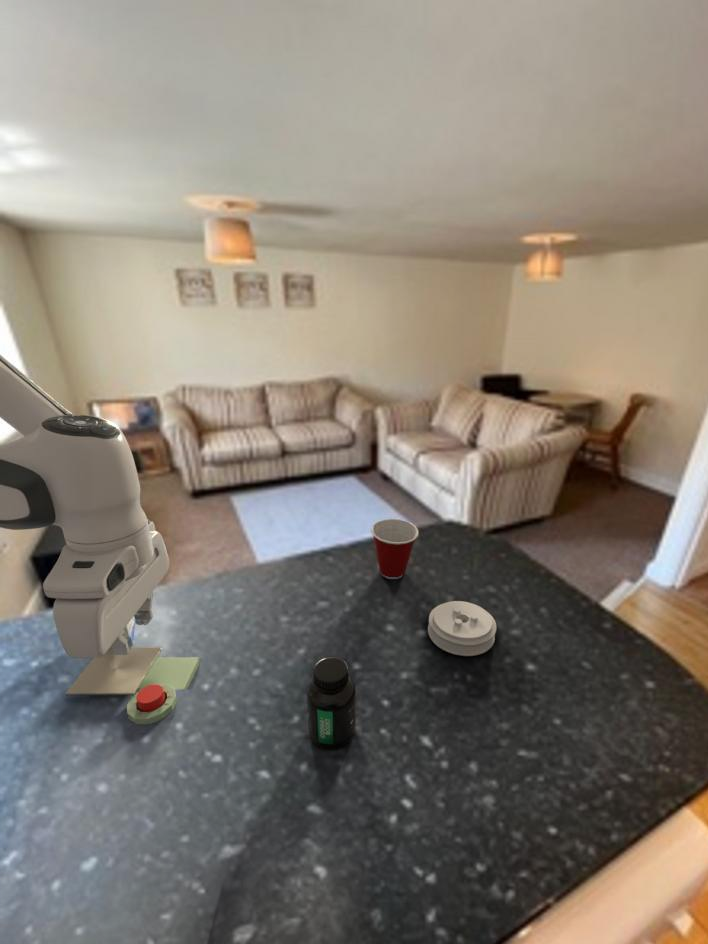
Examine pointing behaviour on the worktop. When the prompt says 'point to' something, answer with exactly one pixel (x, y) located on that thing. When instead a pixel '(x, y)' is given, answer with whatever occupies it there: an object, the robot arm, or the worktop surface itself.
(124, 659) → the plate
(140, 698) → the button
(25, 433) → the robot arm
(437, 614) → the lid
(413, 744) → the worktop surface
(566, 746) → the worktop surface
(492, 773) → the worktop surface
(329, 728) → the supplement bottle
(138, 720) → the green flat piece
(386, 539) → the plastic cup
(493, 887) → the worktop surface
